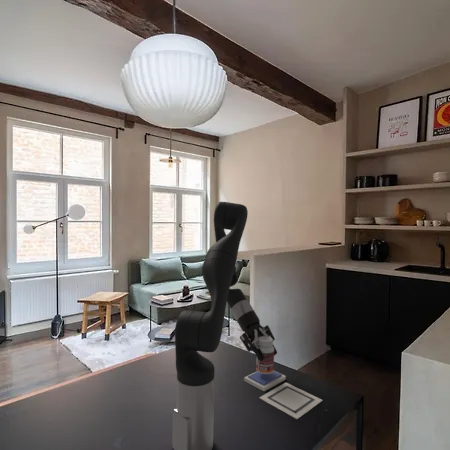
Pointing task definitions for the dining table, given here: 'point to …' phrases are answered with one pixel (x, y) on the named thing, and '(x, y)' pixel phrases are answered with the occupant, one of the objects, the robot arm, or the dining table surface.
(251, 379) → the ink pad
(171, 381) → the dining table surface
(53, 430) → the dining table surface
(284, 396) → the white flat square slab
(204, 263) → the robot arm
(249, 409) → the dining table surface
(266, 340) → the pill bottle
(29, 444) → the dining table surface
